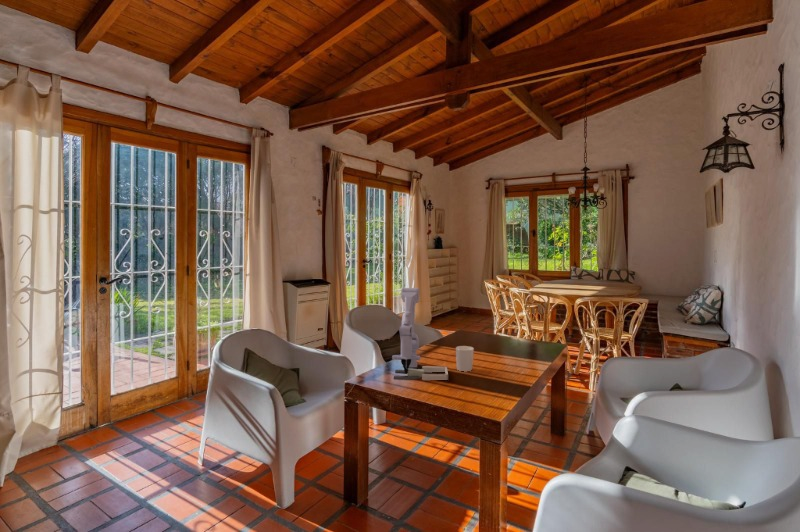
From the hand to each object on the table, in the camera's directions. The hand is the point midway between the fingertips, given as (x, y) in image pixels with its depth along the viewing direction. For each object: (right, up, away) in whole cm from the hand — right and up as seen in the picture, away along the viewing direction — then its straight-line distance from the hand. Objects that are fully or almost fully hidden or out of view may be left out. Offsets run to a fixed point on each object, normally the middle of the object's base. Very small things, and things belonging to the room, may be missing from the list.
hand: (406, 373), depth 224 cm
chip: (+7, -1, -1) cm, 7 cm away
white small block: (+3, -1, 0) cm, 3 cm away
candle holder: (+32, -1, +10) cm, 34 cm away
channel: (+1, -1, 0) cm, 1 cm away
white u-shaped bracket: (+15, -1, -1) cm, 15 cm away
